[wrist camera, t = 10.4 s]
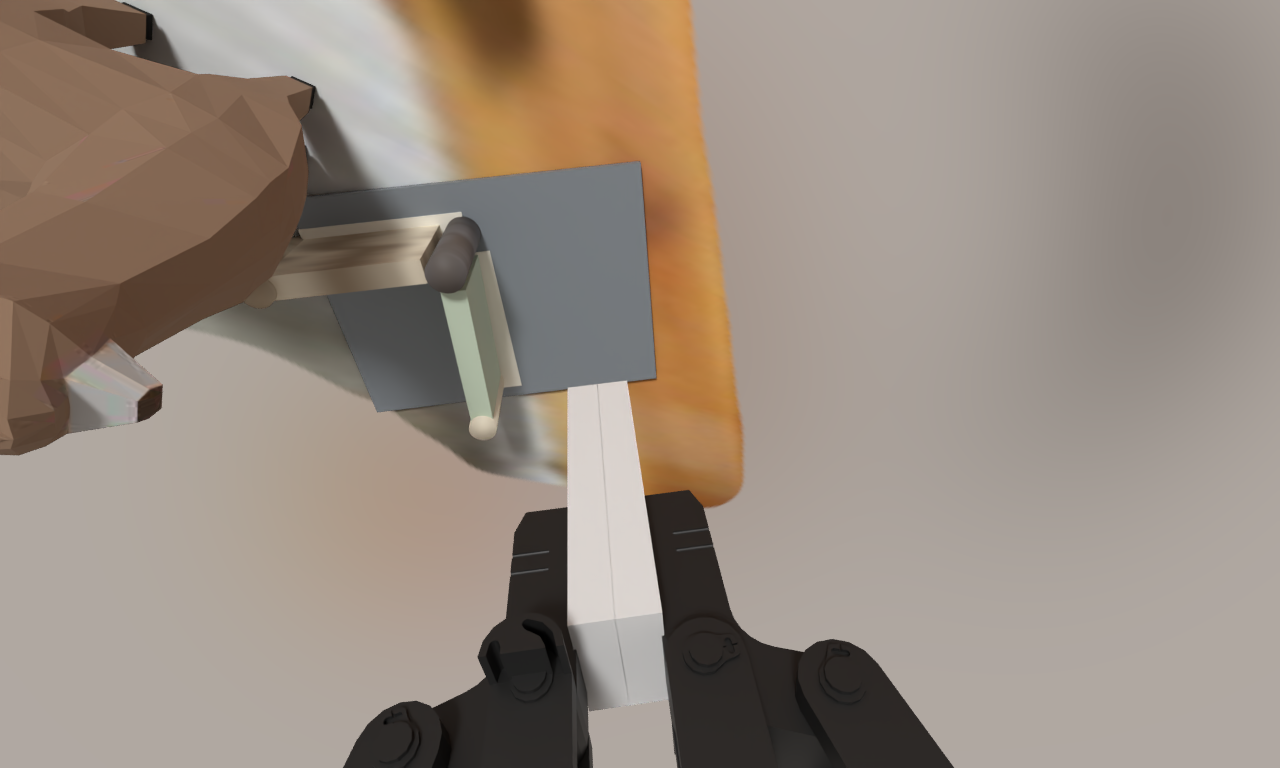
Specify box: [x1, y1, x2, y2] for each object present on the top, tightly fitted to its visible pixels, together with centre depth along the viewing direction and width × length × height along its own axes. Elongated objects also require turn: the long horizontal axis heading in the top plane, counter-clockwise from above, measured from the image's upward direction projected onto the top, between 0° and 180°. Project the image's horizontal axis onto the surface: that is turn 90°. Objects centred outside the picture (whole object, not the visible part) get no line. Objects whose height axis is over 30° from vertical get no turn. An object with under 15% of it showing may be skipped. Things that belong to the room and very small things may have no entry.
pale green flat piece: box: [440, 255, 505, 440], centre depth 42 cm, size 12×2×6 cm, turn 1°
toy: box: [0, 0, 315, 455], centre depth 22 cm, size 9×20×30 cm, turn 64°
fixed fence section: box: [244, 216, 481, 309], centre depth 37 cm, size 14×2×8 cm, turn 94°
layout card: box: [297, 161, 656, 412], centre depth 44 cm, size 24×18×1 cm
